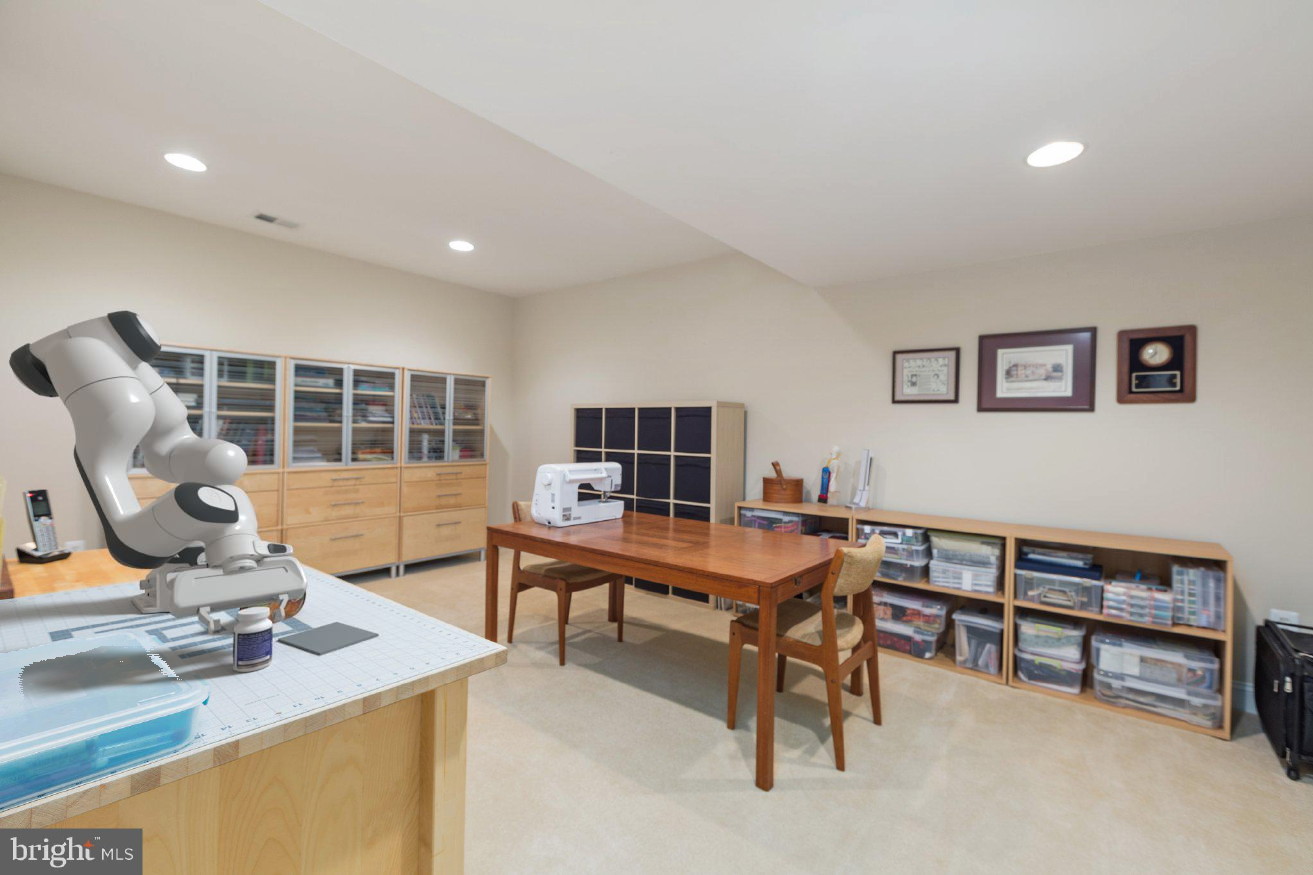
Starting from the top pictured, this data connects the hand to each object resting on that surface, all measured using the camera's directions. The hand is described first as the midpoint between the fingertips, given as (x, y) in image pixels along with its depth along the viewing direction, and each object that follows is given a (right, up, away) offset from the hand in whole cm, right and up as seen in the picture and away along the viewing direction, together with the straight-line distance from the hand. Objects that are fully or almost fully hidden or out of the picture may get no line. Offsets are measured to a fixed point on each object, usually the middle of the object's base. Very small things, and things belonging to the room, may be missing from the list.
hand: (248, 625), depth 101 cm
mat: (+6, -7, +14) cm, 17 cm away
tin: (-11, -7, +24) cm, 27 cm away
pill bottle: (+1, -7, 0) cm, 7 cm away
